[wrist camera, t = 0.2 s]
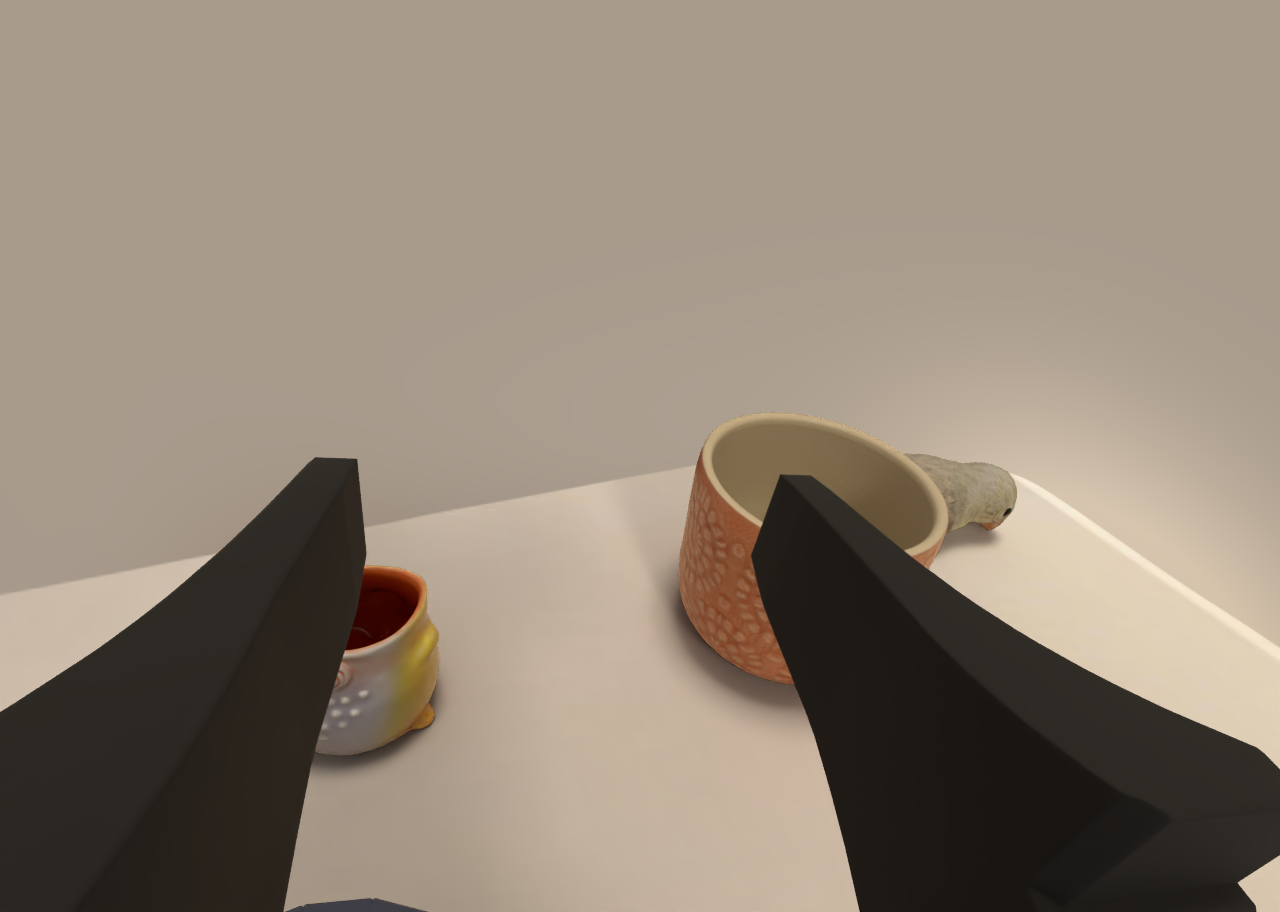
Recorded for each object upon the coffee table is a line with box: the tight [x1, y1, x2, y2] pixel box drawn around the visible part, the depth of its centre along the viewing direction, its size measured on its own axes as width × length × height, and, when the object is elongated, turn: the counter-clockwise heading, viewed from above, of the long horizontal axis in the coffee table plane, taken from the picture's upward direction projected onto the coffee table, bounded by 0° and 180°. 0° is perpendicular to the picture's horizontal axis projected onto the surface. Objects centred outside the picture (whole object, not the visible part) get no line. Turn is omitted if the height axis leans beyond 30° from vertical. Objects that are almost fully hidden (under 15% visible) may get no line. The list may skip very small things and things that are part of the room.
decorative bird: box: [904, 454, 1017, 533], centre depth 46 cm, size 5×16×8 cm, turn 104°
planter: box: [678, 413, 948, 684], centre depth 36 cm, size 12×12×11 cm
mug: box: [315, 565, 439, 755], centre depth 28 cm, size 12×7×7 cm, turn 119°
